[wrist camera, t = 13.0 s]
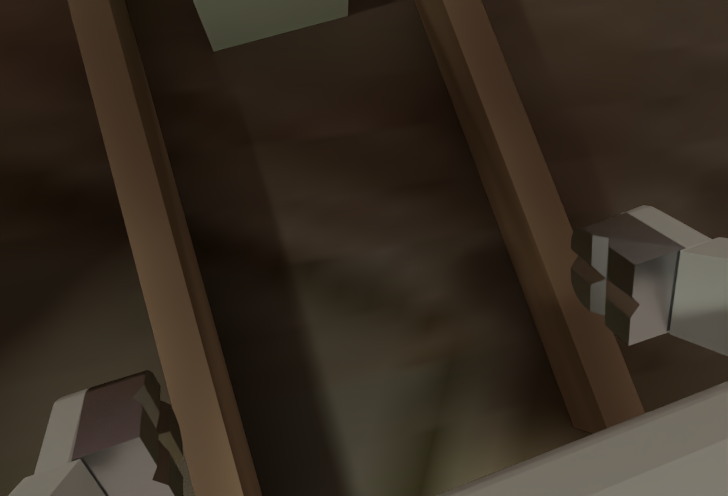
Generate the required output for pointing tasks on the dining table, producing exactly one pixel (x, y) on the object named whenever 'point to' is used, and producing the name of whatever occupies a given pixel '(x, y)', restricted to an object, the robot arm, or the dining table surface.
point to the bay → (184, 281)
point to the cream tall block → (262, 18)
